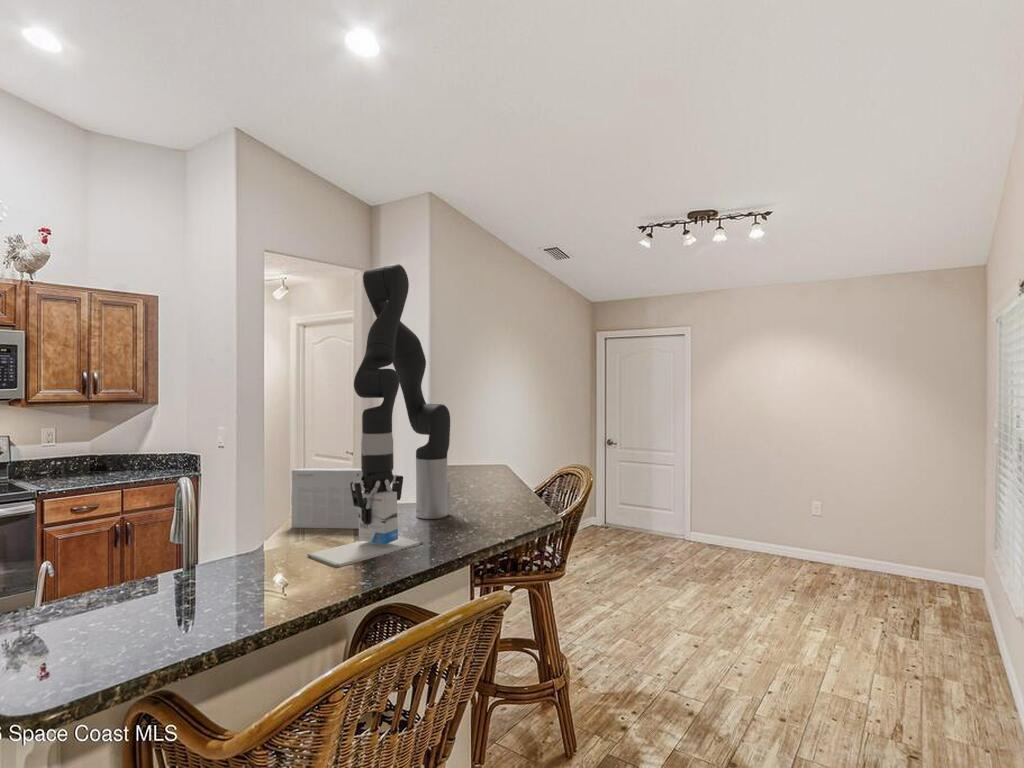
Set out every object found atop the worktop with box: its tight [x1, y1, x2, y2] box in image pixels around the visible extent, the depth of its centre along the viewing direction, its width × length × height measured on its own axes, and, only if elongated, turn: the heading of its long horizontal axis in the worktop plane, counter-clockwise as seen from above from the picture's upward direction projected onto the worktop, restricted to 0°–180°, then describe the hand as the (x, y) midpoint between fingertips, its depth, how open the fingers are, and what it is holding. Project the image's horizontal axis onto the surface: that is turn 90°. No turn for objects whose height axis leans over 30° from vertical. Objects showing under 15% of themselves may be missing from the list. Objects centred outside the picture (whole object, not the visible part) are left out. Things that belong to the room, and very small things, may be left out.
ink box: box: [358, 491, 399, 544], centre depth 139 cm, size 9×5×12 cm, turn 62°
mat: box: [306, 534, 424, 569], centre depth 136 cm, size 24×12×1 cm, turn 139°
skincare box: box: [290, 467, 364, 530], centre depth 160 cm, size 21×5×16 cm, turn 84°
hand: (377, 521), depth 139 cm, fingers closed on ink box, 5 cm apart
